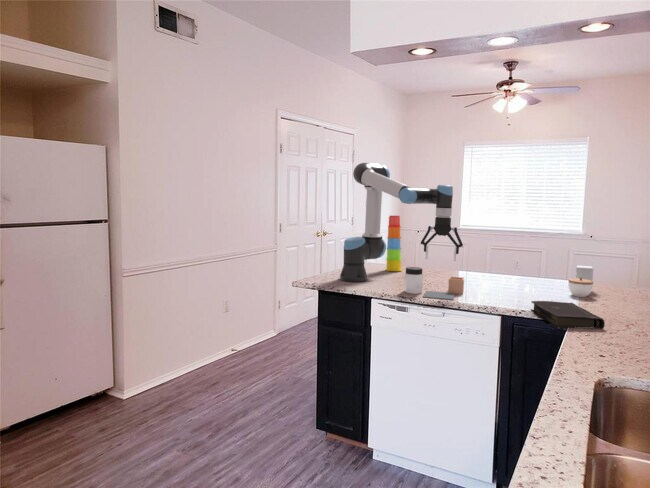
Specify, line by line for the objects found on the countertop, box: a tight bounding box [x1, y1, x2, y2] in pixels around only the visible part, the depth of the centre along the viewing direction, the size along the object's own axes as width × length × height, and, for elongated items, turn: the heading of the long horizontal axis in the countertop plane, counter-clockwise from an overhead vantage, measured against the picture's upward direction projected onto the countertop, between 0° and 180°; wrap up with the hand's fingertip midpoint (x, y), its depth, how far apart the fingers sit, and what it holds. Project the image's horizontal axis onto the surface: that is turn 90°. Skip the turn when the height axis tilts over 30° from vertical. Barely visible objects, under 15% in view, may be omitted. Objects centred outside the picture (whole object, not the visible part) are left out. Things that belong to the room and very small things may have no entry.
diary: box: [530, 300, 605, 329], centre depth 188 cm, size 19×25×5 cm
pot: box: [447, 276, 465, 295], centre depth 235 cm, size 7×7×7 cm
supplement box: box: [575, 265, 594, 292], centre depth 244 cm, size 7×7×13 cm
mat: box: [422, 290, 456, 301], centre depth 226 cm, size 14×14×1 cm
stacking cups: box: [385, 215, 403, 272], centre depth 293 cm, size 10×10×35 cm
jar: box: [403, 266, 424, 295], centre depth 232 cm, size 9×8×12 cm
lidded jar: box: [568, 277, 594, 298], centre depth 232 cm, size 11×11×9 cm
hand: (440, 259), depth 233 cm, fingers open, 13 cm apart
